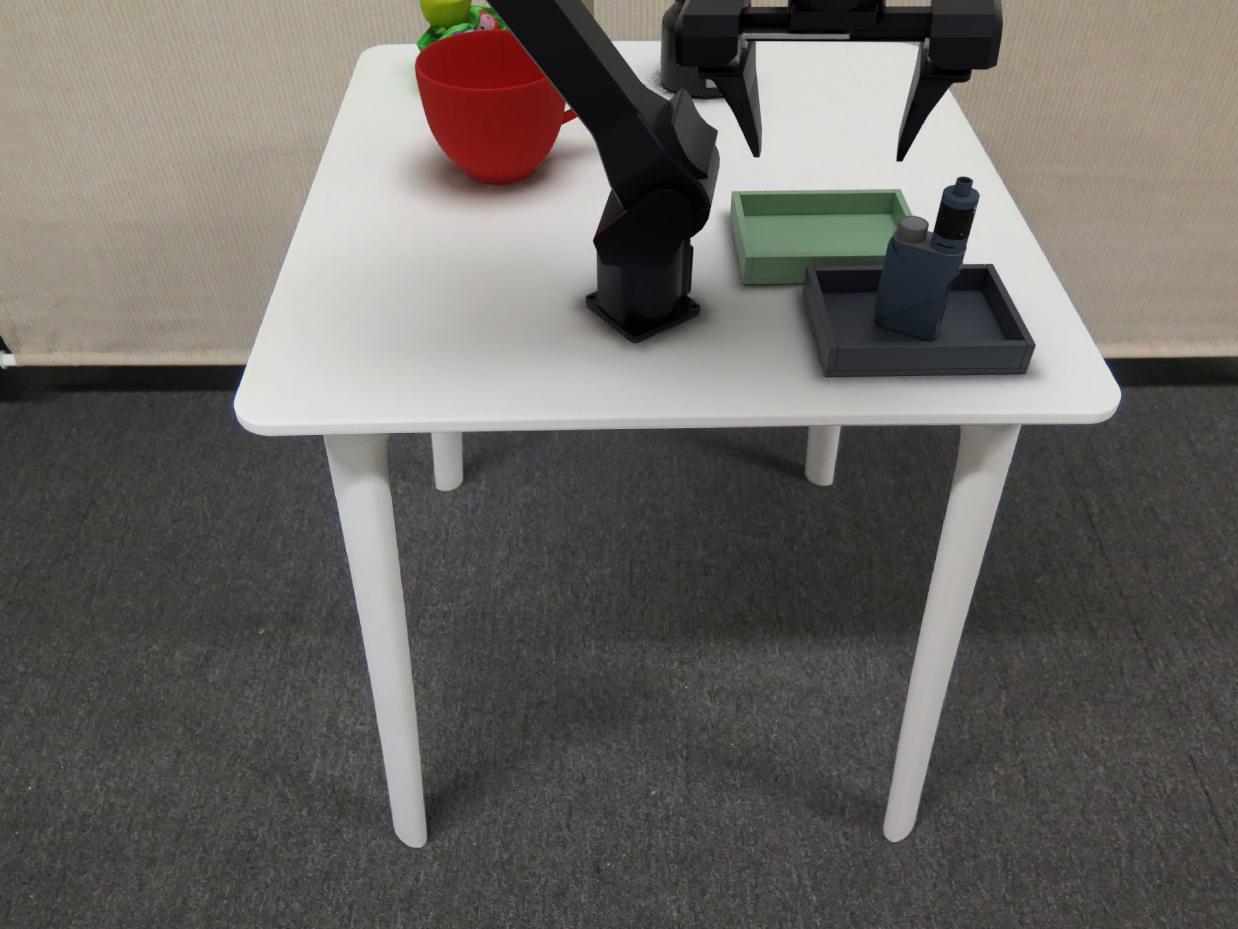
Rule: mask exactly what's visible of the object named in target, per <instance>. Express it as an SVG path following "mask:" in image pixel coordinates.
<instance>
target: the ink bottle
mask: <svg viewBox="0 0 1238 929" xmlns="http://www.w3.org/2000/svg"><path fill="white" fill-rule="evenodd" d="M685 1H686V0H674V2H673V3H672V5H671V6H670V7H668V9H666V11H665V12H664V13H663V15H662V18H661V31H660V32H661V33H660V35H661V36H660V64H659V65H660V66H659V67H660V70H659V75H660V76H659V77H660V80H661V81H660V82H661V83H662V85H664V86H665V88H667V89H669V90H671V91H673V92H676V93H677V92H678V91H679V90H680V89H682V88H684V89H685V90H686V91H687V92H688V94H689V95H690V96H693V97H694V96H696V97H720V96H722V94H721V93H720V91H719V90H718V88H717V87H716V85H715V84H714V82H713V81H712V80H704V79H700V78H699V77H698V74H697V68H698V67H682V66H681V65H679V64H677V63H676V58H675V39H674V35H675V25H676V21H677V19H678V17H679V14H680V12H681V10H682V8H683V5H684V3H685Z"/></svg>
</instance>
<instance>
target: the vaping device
mask: <svg viewBox="0 0 1238 929" xmlns="http://www.w3.org/2000/svg"><path fill="white" fill-rule="evenodd" d="M973 184H974V180H973V178H971V177H969V176H965V175H964V176H957V178H956V179H955V183H954V184H951V185H948V186H946V187H944V188H943V190H942V194H941V198H940V202H939V206H938V211H937V213H936V214H937V215H936V219H935V223H934V226H933V231H929V226H930V223H929V222H928V221H927V220H926V219H925V218H923V217H921V216H918V215H913V216H905V217H902V218H901V219H900V221H899V225H898V229H896V230H895V231H894V233H893V236H892V237H891V238H890V240H889V242H888V245H887V250H886V255H885V260H884V264H883V269H882V274H881V279H880V283H879V288H878V293H877V298H876V302H875V307H874V313H875V316H876V322H877V323H878V324H879V325H880V326H882V327H884V328H887V329H891V330H894V331H897V332H901V333H904V334H908V335H911V336H914V337H918V338H921V339H925V340H933V339H934V338H936V337H937V336H938V335H939V333H940V326H941V322H942V319H943V315H944V311H945V308H946V304H947V300H948V297H949V293H950V289H951V285H952V282H953V279H954V278H955V277H956V276H957V275H958V274H959V273H960V270H961V268H962V266H963V264H964V258H965V255H966V252H967V249H968V247H967V246H968V242H969V239H970V234H971V230H972V227H973V223H974V219H975V215H976V212H977V209H978V204H979V202H980V197H981V195H980V192H979V191H978V190H977V189H975V188H974V187H973Z"/></svg>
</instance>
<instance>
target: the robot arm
mask: <svg viewBox="0 0 1238 929" xmlns="http://www.w3.org/2000/svg"><path fill="white" fill-rule="evenodd" d="M485 2H486V3H487V4H488V6H489V7H491V8H492V9H493V10H494V12H495V13H496V14H497V16H498V17H499V18H500V19H501V21H502V22H503V23H504V24H505V26H506V27H507V28H508V29H509V31H510V32H511V33H512V35H513V36H514V37H515V38H516V40H517V41H518V42H519V43H520V45H521V46H522V47H523V48H524V50H525V51H526V52H527V54H528V55H529V56H530V57H531V59H532V60H533V61H534V62H535V64H536V65H537V66H538V67H539V69H540V70H541V71H542V73H543V74H544V75H545V76H546V78H547V79H548V80H549V81H550V83H551V84H552V85H553V86H554V88H555V89H556V90H557V92H558V93H559V94H560V95H561V97H562V98H563V99H564V100H565V102H566V105H568V107H569V109H572V111H573V112H574V113H575V114H576V116H577V118H578V120H579V121H580V122H581V124H583V126H584V127H585V129H586V130H587V131H588V132H589V134H590V135H591V137H592V139H593V141H594V143H595V146H596V149H597V152H598V155H599V158H600V162H601V164H602V167H603V170H604V173H605V176H606V179H607V182H608V185H609V187H610V192H609V193H608V197H607V199H606V203H605V205H604V208H603V210H602V214H601V216H600V220H599V222H598V225H597V228H596V231H595V234H594V236H593V239H592V243H593V246H594V248H595V251H596V291H594V292H591V293H588V294H587V295H585V297H584V298H585V304H586V306H588V307H590V308H591V309H592V310H593V311H594V312H595V313H596V314H598V315H599V316H600V317H602V318H603V319H604V320H605V321H607V323H609V324H610V325H611V326H613V327H614V328H615V329H616V330H618V331H619V332H620V333H621V334H622V335H624V336H625V337H626V338H628V340H630V341H633V342H640V341H641V340H643V339H646V338H648V337H650V336H652V335H655V334H657V333H659V332H661V331H663V330H665V329H668V328H670V327H673V326H674V325H677V324H679V323H681V322H683V321H686V320H688V319H691V318H693V317H695V316H697V315H699V314H701V310H702V306H701V304H700V303H699V302H697V301H695V300H694V299H693V298H692V297H690V296H689V294H691V293H692V285H693V284H692V283H693V281H692V280H693V268H694V267H693V265H694V252H695V251H694V249H695V247H694V245H692V244H691V242H692V241H691V240H692V239H691V238H694V237H695V236H697V234H699V233H700V232H701V231H702V230H703V229H704V227H705V226H706V224H707V222H708V221H709V219H710V216H711V215H710V214H711V209H712V206H713V205H712V204H713V200H714V196H715V191H716V186H717V181H718V176H719V172H720V165H721V157H720V152H719V149H718V147H717V145H716V143H717V139H718V135H719V130H718V129H717V128H715V127H714V126H712V125H711V124H709V123H708V122H707V121H706V120H705V119H704V118H703V117H702V116H701V114H700V112H699V111H698V109H697V106H696V105H695V103H694V100H693V99H692V97H691V95H689V94H688V92H687V91H686V90H685V89H684V88H682V89H680V90H679V91H678V92H676V93H675V94H674V95H673V96H672V97H671V98H670V99H668V98H666V97H664V96H663V95H660V94H659V93H657V92H655V91H654V90H652V89H650V88H649V87H647V86H646V85H645V84H644V83H643V82H642V81H641V79H640V78H639V77H638V75H637V74H636V72H635V71H634V70H633V69H632V68H631V66H630V64H629V63H628V62H627V61H626V59H625V58H624V56H623V55H622V54H621V53H620V51H619V50H618V48H617V47H616V46H615V44H614V43H613V42H612V40H611V39H610V37H609V36H608V35H607V33H606V32H605V31H604V29H603V28H602V27H601V25H600V24H599V22H598V21H597V20H596V18H595V16H594V17H593V16H592V15H591V13H590V12H589V11H588V9H587V8H586V6H585V5H584V4H583V2H582V1H581V0H485ZM1003 16H1004V15H1003V3H1002V0H930V5H903V6H902V5H899V6H898V5H897V6H895V5H893V6H892V5H889V6H887V0H787V6H752V0H686V1H685V3H684V5H683V8H682V10H681V12H680V14H679V17H678V19H677V21H676V25H675V35H674V39H675V58H676V63H677V64H679V65H681V66H682V67H698V68H697V74H698V77H699V78H700V79H704V80H712V81H713V82H714V84H715V85H716V87H717V88H718V90H719V91H720V93H721V94H722V95H721V96H722V98H723V99H724V100H725V102H726V104H727V105H728V107H729V109H730V110H731V112H732V114H733V116H734V117H735V120H736V122H737V124H738V126H739V128H740V131H741V132H742V135H743V137H744V140H745V142H746V144H747V146H748V148H749V150H750V152H751V155H752V157H753V158H756V159H759V158H760V157H761V153H762V148H763V147H762V146H763V121H762V113H761V104H760V103H761V102H760V92H759V82H758V73H757V42H796V43H797V42H799V43H800V42H806V43H807V42H811V43H812V42H813V43H814V42H816V43H819V42H823V43H824V42H826V43H827V42H828V43H829V42H831V43H836V42H837V43H838V42H839V43H847V42H848V43H850V42H851V43H919V44H918V51H917V55H916V61H915V66H914V70H913V74H912V78H911V82H910V86H909V89H908V93H907V98H906V102H905V106H904V110H903V114H902V118H901V123H900V127H899V130H898V137H897V138H898V139H897V145H896V146H897V149H896V157H895V158H896V159H895V160H896V162H897V163H902V162H903V161H904V160H905V158H906V156H907V154H908V152H909V151H910V149H911V147H912V146H913V143H915V142H914V141H915V140H916V138H917V136H918V134H919V133H920V131H921V129H922V127H923V125H924V124H925V122H926V121H927V118H928V117H929V115H930V114H931V113H932V112H933V110H934V108H935V107H936V106H937V104H938V103H939V102H940V101H941V99H942V98H943V97H944V96H945V94H946V93H947V91H948V90H949V89H950V88H951V87H952V86H953V85H954V84H963V83H967V82H969V81H970V80H971V78H972V72H973V71H976V70H977V71H987V70H990V69H992V68H994V67H998V61H999V55H1000V50H1001V43H1002V39H1003V31H1004V30H1003V29H1004V17H1003Z"/></svg>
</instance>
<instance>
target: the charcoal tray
mask: <svg viewBox="0 0 1238 929" xmlns="http://www.w3.org/2000/svg"><path fill="white" fill-rule="evenodd" d="M882 269H883V265H870V266H815V267H814V266H807V267H806V273H805V280H804V284H803V288H802V297H803V301H804V305H805V308H806V312H807V316H808V319H809V323H810V327H811V330H812V334H813V337H814V341H815V346H816V348H817V352H818V356H819V360H820V364H821V367H822V371H823V374H824V377H878V376H879V377H880V376H938V375H940V376H944V375H945V376H947V375H1003V374H1004V375H1005V374H1006V375H1008V374H1027V372H1028V368H1029V366H1030V363H1031V361H1032V358H1033V355H1034V352H1035V349H1036V346H1037V345H1036V342H1035V340H1034V339H1033V336H1032V335H1031V333H1030V330H1029V329H1028V327H1027V325H1026V323H1025V321H1024V319H1023V318H1022V316H1021V314H1020V312H1019V310H1018V308H1017V306H1016V304H1015V303H1014V300H1013V299H1012V297H1011V295H1010V293H1009V291H1008V290H1007V288H1006V286H1005V284H1004V282H1003V280H1002V278H1001V276H1000V274H999V273H998V271H997V269H996V267H995V265H994V263H963V266H962V268H961V270H960V273H959V274H958V275H957V276H956V277H955V278H954V279H953V282H952V285H951V289H950V293H949V297H948V300H947V304H946V308H945V311H944V315H943V319H942V322H941V326H940V333H939V335H938V336H937V337H936V338H934V339H933V340H925V339H921V338H918V337H914V336H911V335H908V334H904V333H901V332H897V331H894V330H891V329H887V328H884V327H882V326H880V325H879V324H878V323H877V322H876V316H875V313H874V307H875V302H876V298H877V293H878V288H879V283H880V279H881V274H882Z"/></svg>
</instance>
